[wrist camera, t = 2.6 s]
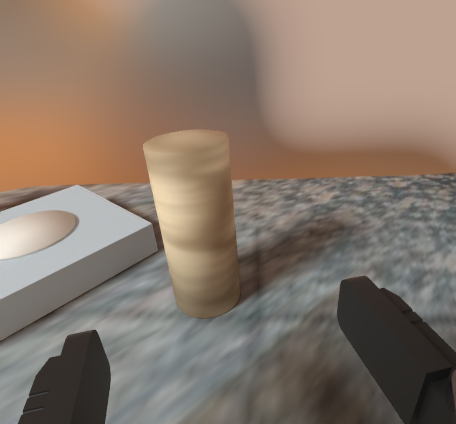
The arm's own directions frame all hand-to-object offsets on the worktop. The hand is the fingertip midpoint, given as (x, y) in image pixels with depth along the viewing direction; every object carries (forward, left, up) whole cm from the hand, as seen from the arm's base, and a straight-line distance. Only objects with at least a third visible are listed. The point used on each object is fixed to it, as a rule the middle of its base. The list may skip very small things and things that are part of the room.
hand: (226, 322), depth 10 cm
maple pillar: (-7, -9, -9) cm, 14 cm away
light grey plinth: (0, -25, -9) cm, 27 cm away
